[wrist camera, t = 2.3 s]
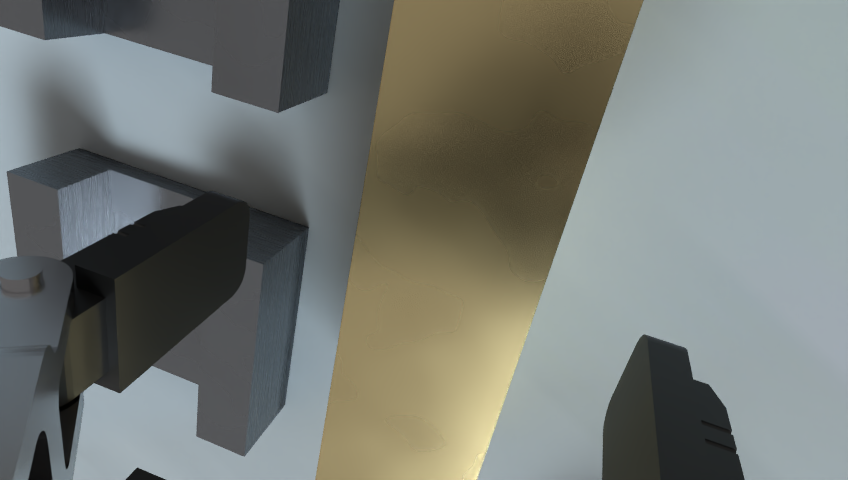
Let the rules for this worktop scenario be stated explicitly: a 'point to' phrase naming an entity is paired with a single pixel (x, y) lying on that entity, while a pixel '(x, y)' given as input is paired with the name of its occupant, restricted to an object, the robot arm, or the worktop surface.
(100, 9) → the grey u-channel block
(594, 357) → the worktop surface
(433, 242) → the link bar
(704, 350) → the worktop surface
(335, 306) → the worktop surface
